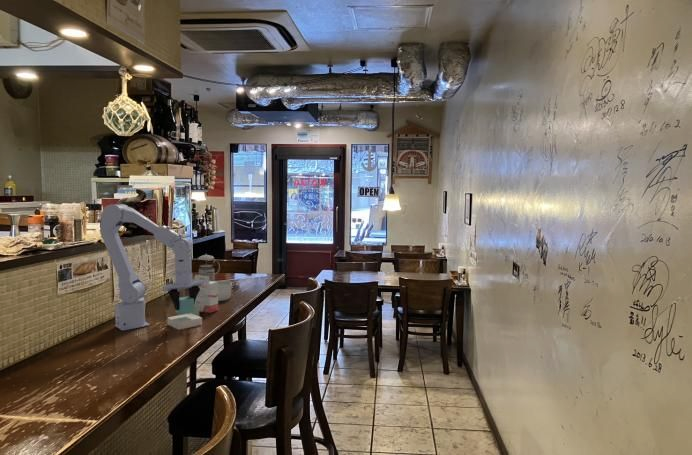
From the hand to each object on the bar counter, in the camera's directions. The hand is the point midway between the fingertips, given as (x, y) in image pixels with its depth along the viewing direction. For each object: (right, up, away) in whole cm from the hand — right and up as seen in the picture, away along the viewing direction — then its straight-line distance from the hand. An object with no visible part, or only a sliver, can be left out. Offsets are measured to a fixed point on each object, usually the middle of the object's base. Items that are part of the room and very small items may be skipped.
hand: (184, 308), depth 173 cm
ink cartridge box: (+2, -5, +20) cm, 21 cm away
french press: (-12, 0, +72) cm, 73 cm away
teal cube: (0, -1, 0) cm, 1 cm away
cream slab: (0, -6, +1) cm, 6 cm away
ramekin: (+1, -3, +41) cm, 41 cm away
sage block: (-2, -5, +13) cm, 14 cm away
